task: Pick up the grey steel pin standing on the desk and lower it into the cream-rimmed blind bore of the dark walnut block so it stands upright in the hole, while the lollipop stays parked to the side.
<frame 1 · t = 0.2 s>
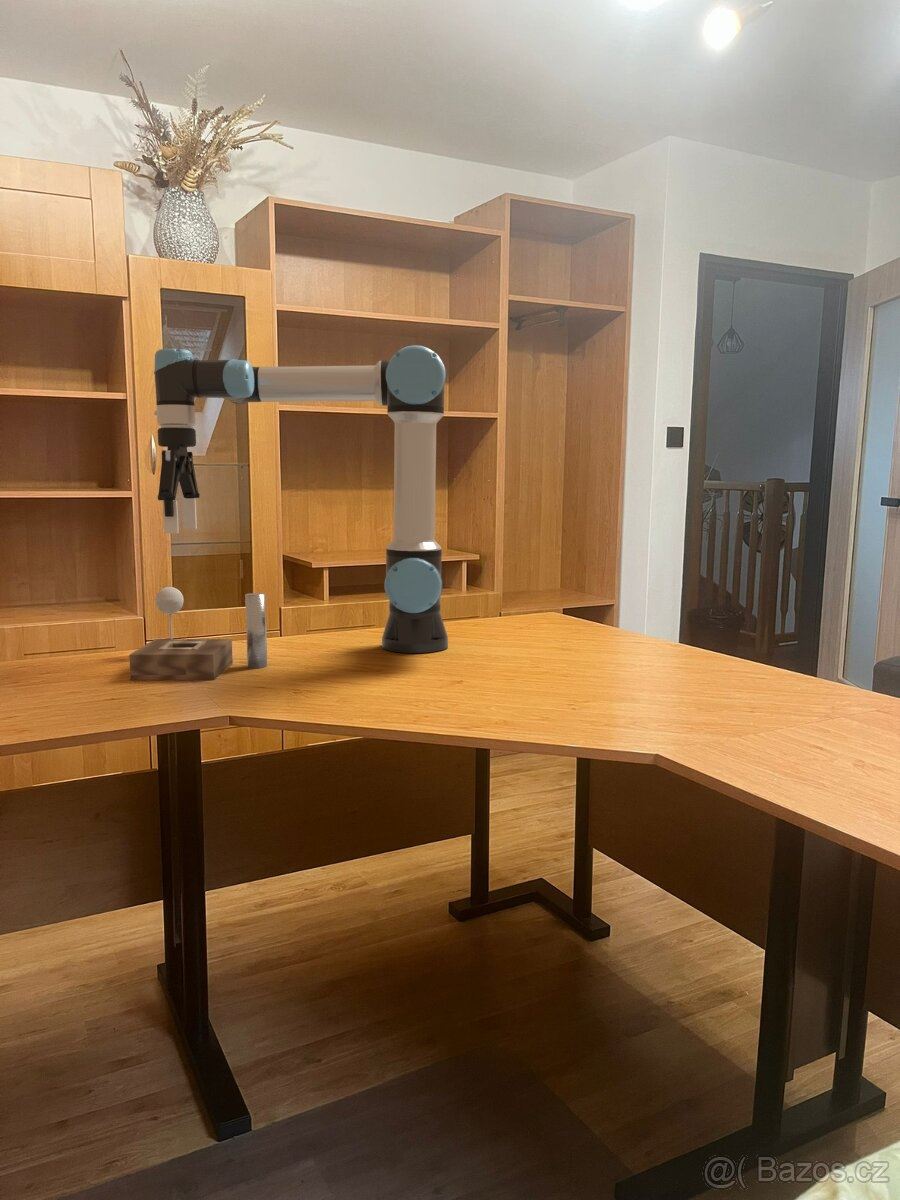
hand: (181, 531, 188), 27 cm above the table, fingers open, 13 cm apart
lollipop: (172, 655, 197), on the table
bore block: (183, 670, 181), on the table
pin: (257, 666, 185), on the table
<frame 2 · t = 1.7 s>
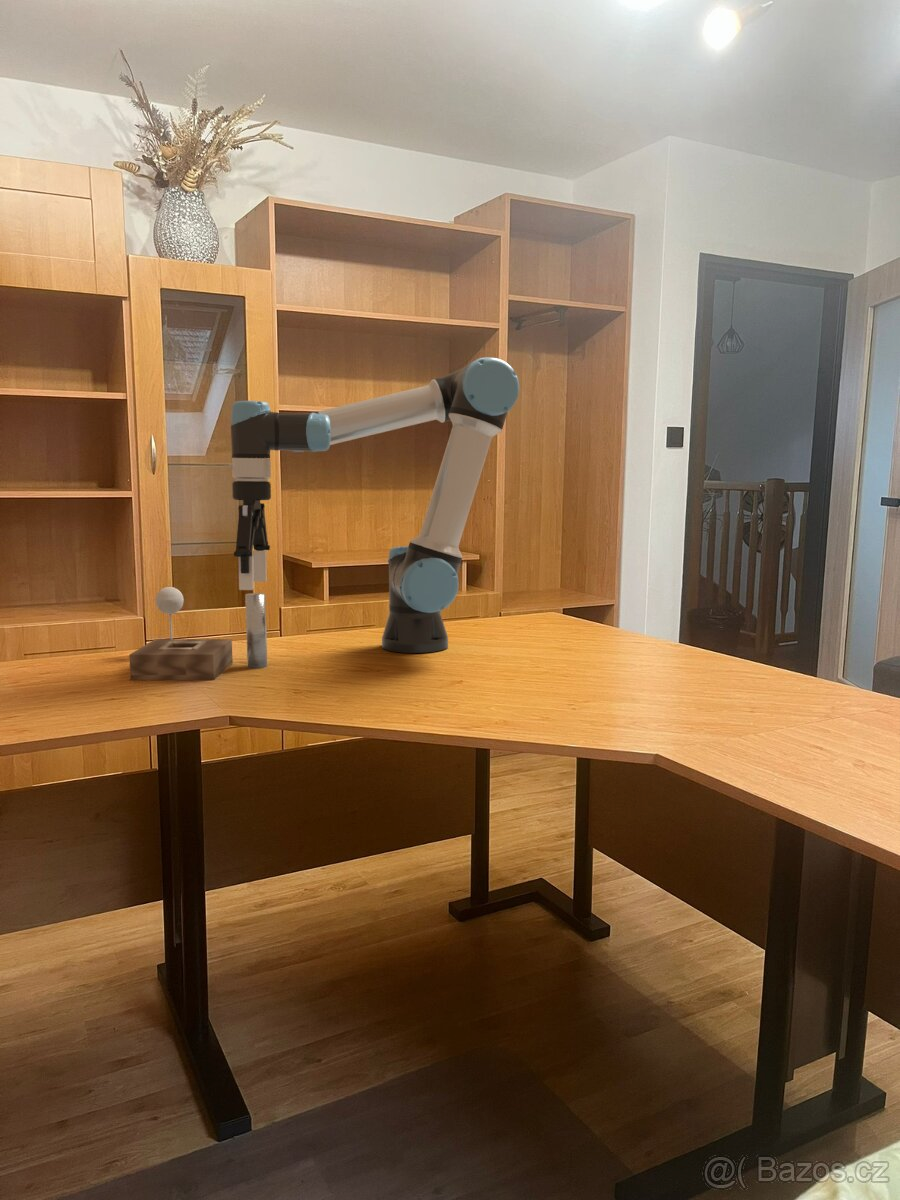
hand: (253, 585, 183), 17 cm above the table, fingers open, 13 cm apart
nothing on the table moved.
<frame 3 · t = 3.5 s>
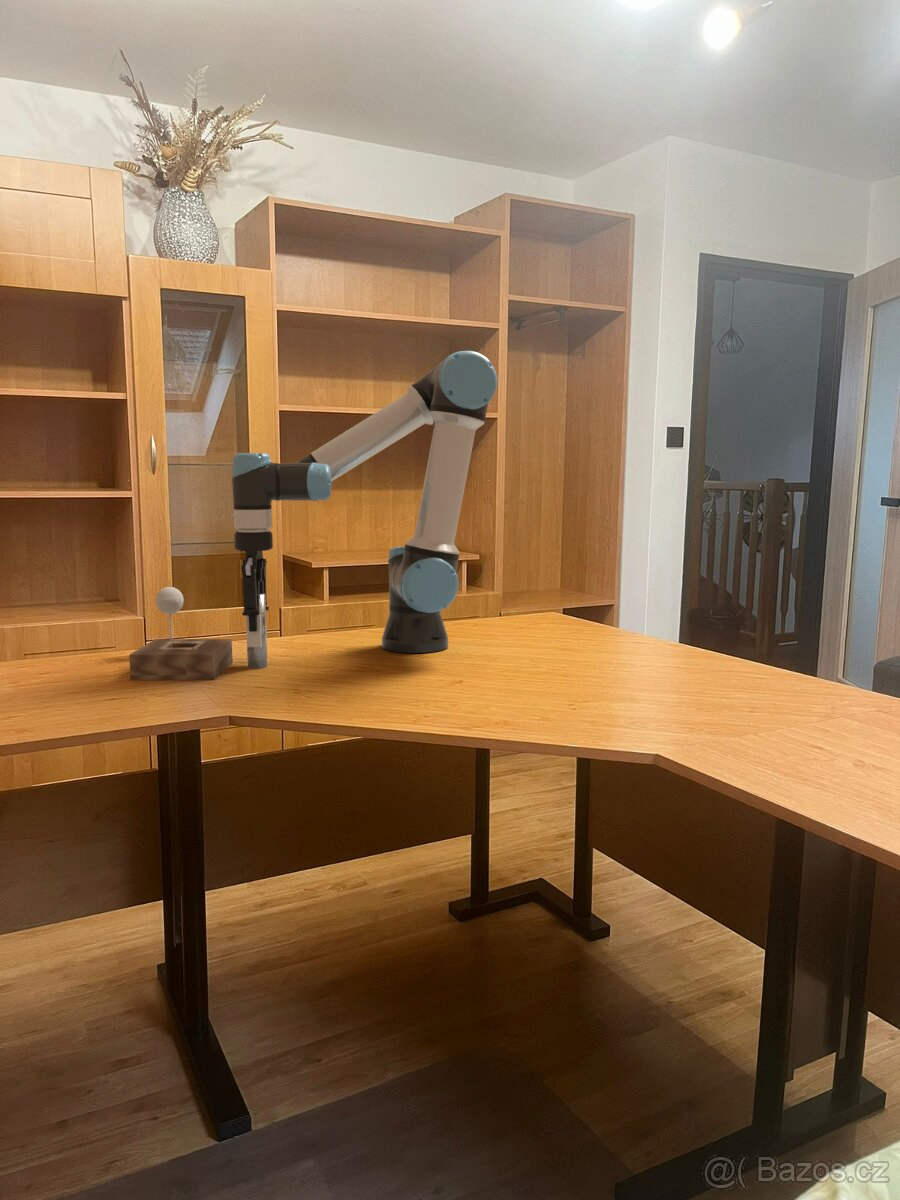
hand: (256, 644, 185), 5 cm above the table, fingers closed on pin, 4 cm apart
pin: (257, 666, 185), on the table, touching gripper
everything else where it was.
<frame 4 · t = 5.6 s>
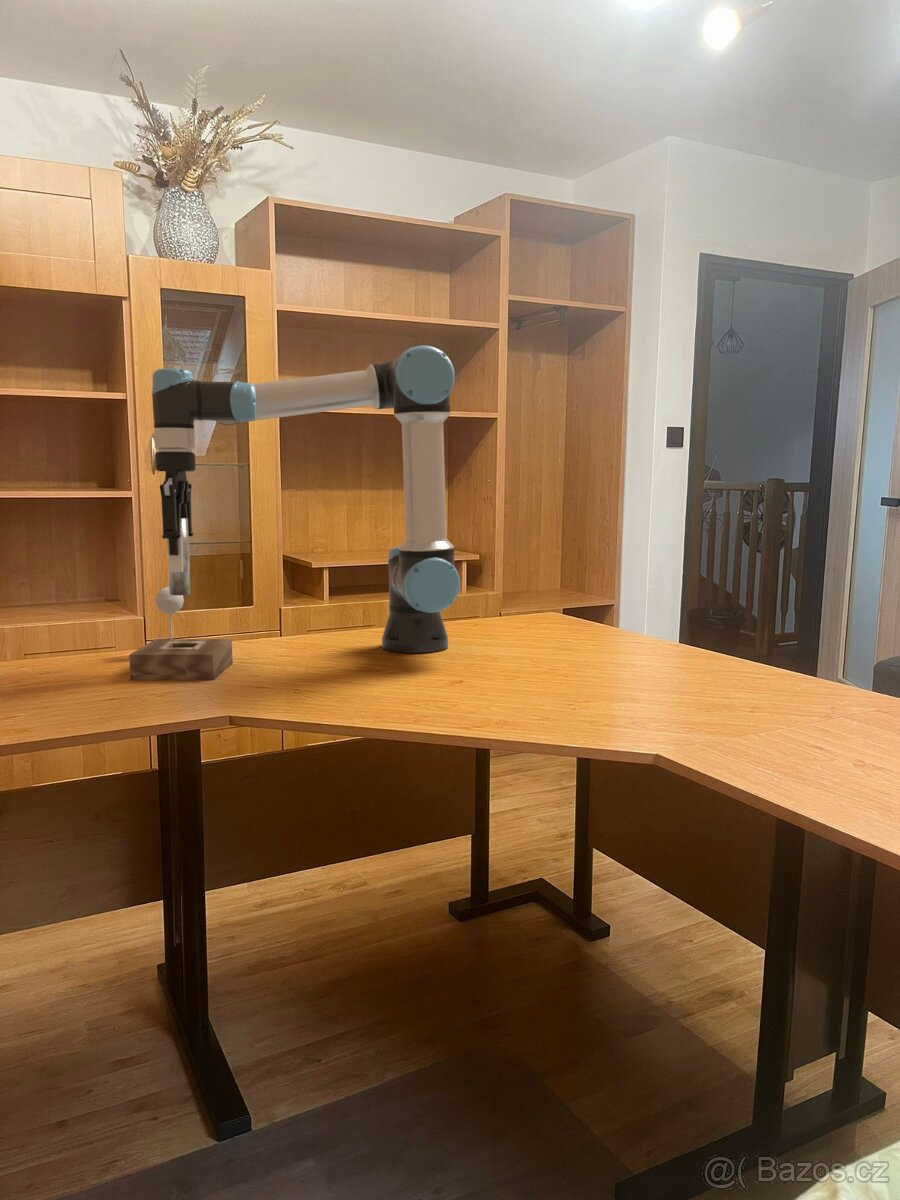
hand: (179, 570, 178), 20 cm above the table, fingers closed on pin, 4 cm apart
pin: (179, 594, 179), point 16 cm above the table, touching gripper
everything else where it was.
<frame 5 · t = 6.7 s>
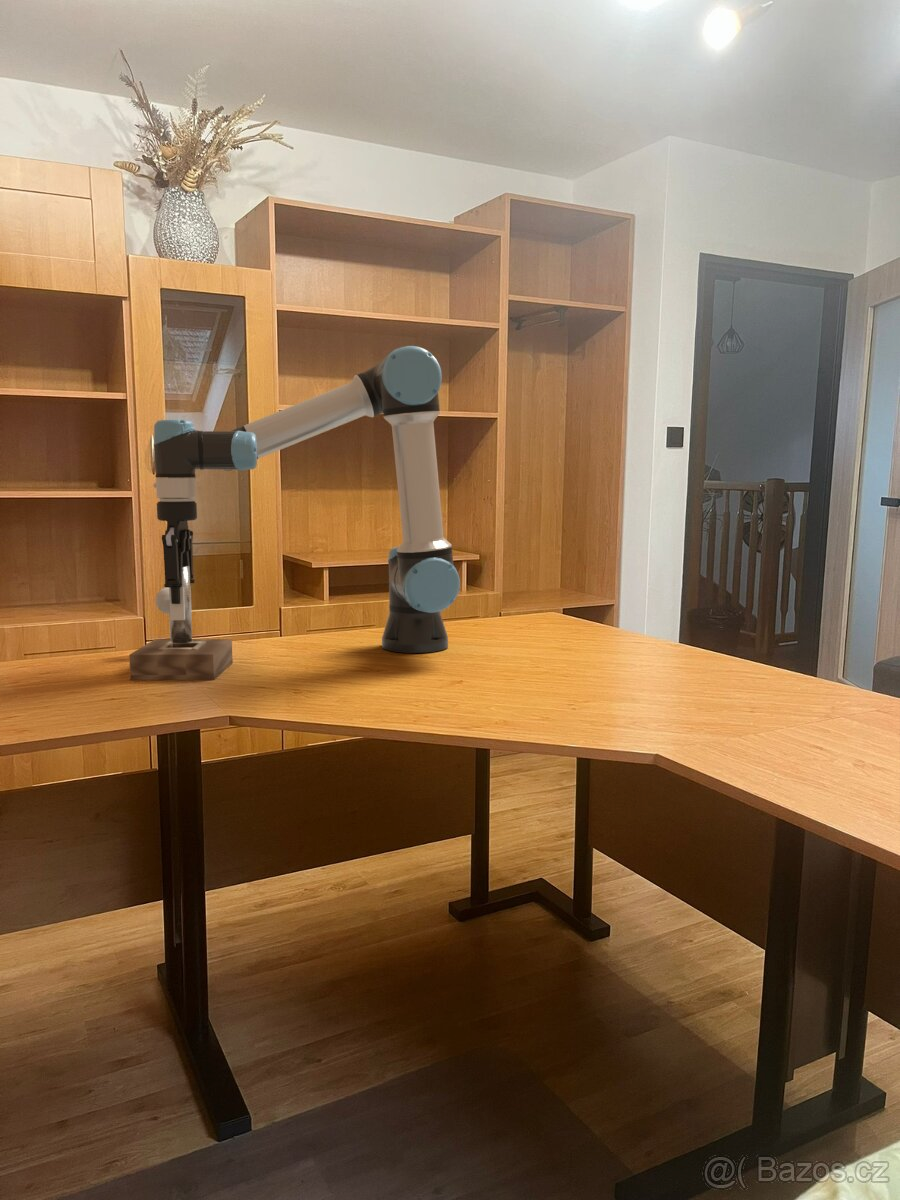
hand: (181, 617, 180), 11 cm above the table, fingers closed on pin, 4 cm apart
pin: (181, 641, 180), point 6 cm above the table, touching gripper
everything else where it was.
when the fingers open (7 cm above the table, at t = 7.7 s): pin stays where it is, resting on bore block.
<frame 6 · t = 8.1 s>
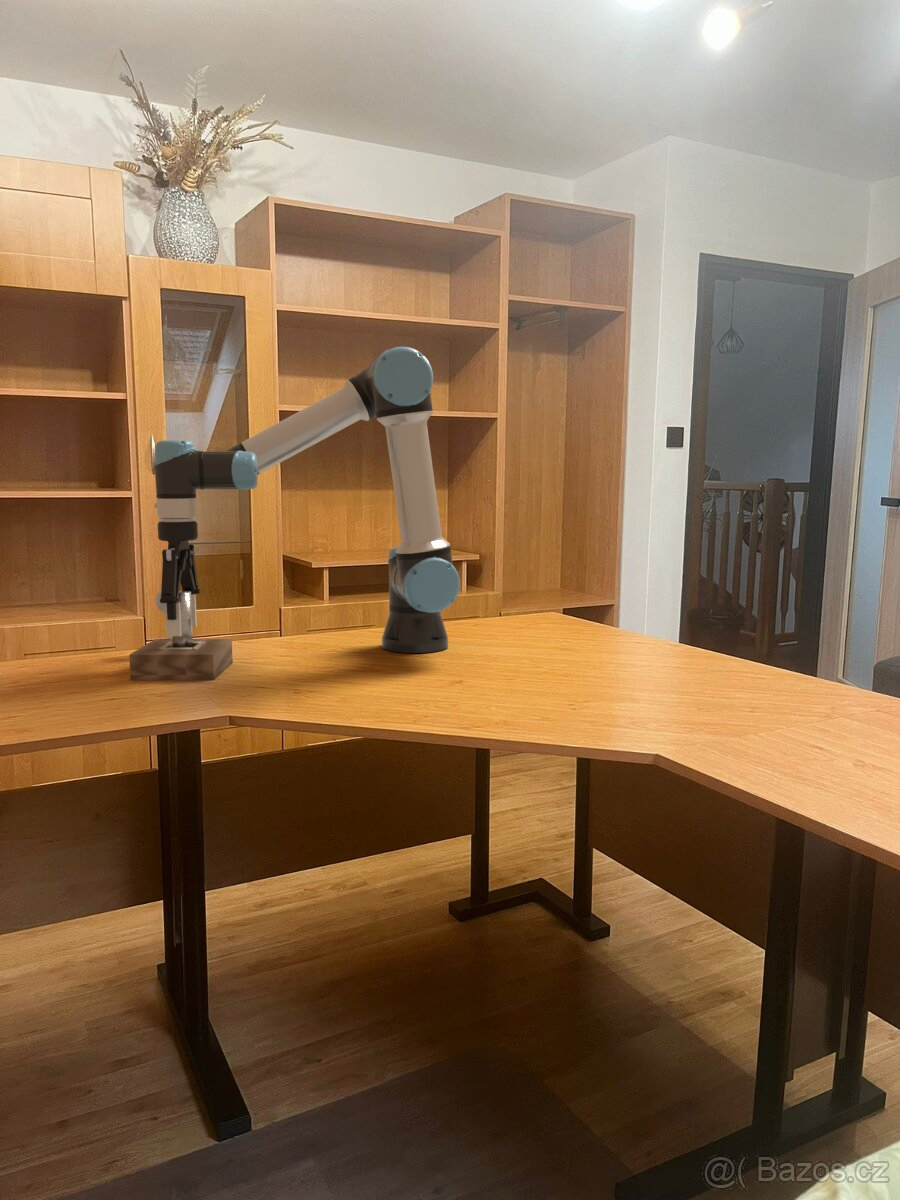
hand: (182, 630, 180), 8 cm above the table, fingers open, 10 cm apart
pin: (183, 666, 181), point 1 cm above the table, touching bore block
everything else where it was.
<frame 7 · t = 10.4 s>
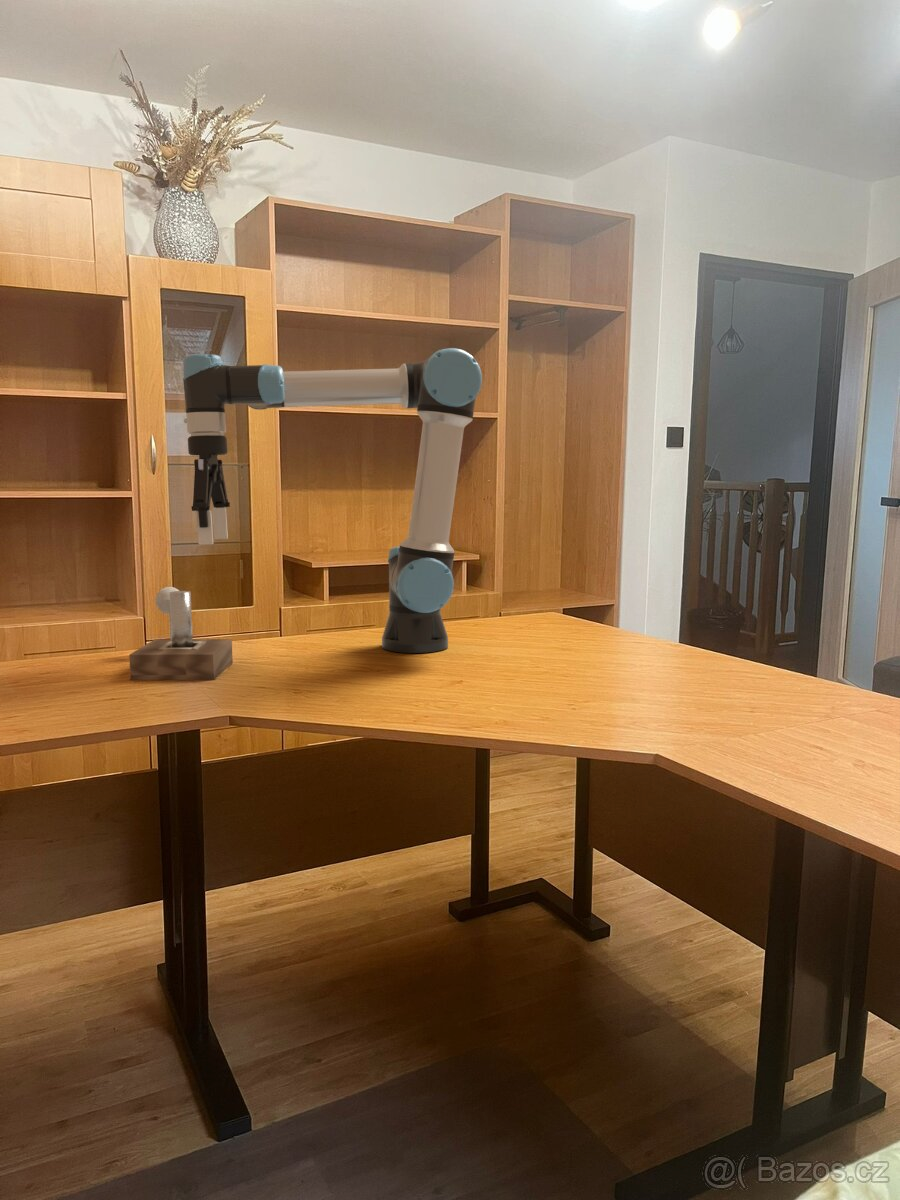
hand: (213, 541, 182), 26 cm above the table, fingers open, 13 cm apart
nothing on the table moved.
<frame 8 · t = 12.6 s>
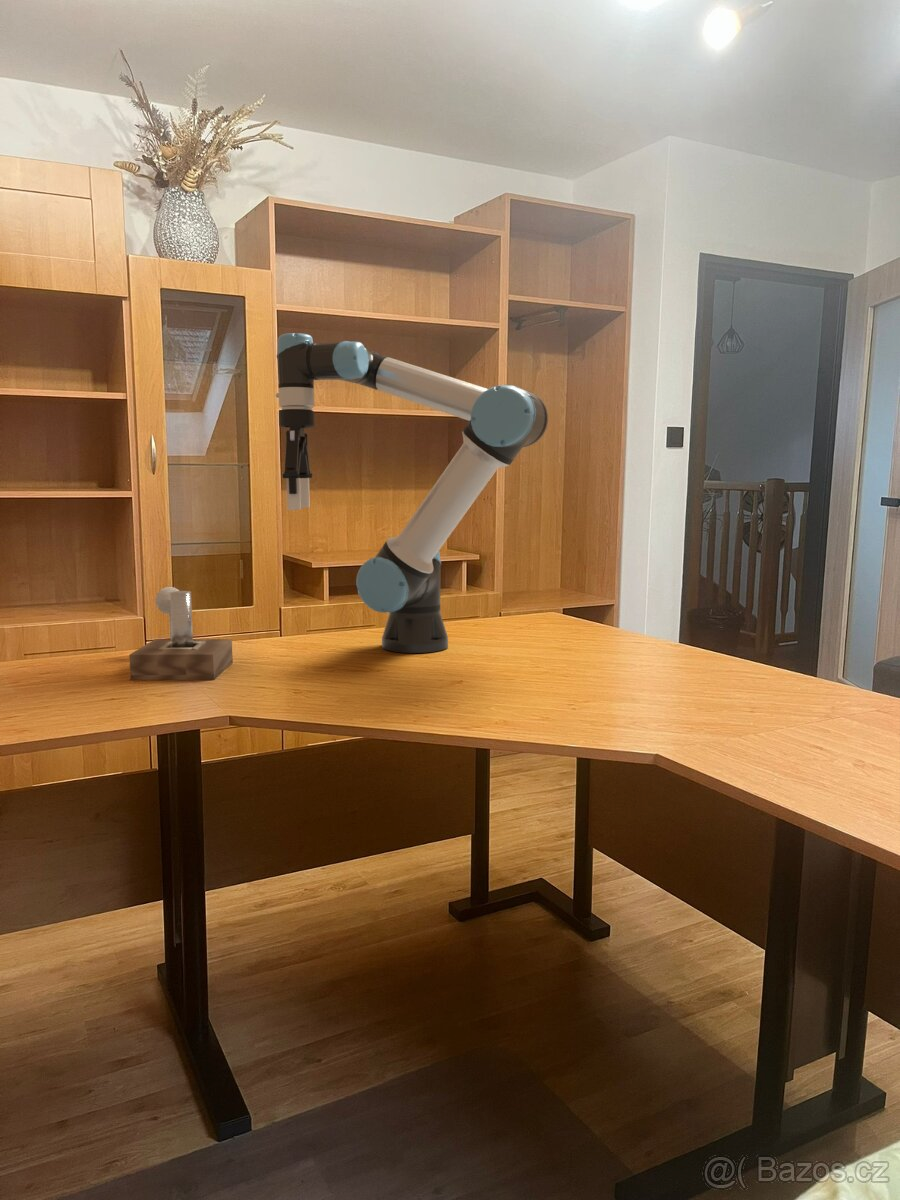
hand: (298, 508, 196), 32 cm above the table, fingers open, 13 cm apart
nothing on the table moved.
at the end: pin 0.1 cm off-centre on the bore block, point 1.0 cm above the bore block's base; pin tilted 0°; the gripper is holding nothing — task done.
